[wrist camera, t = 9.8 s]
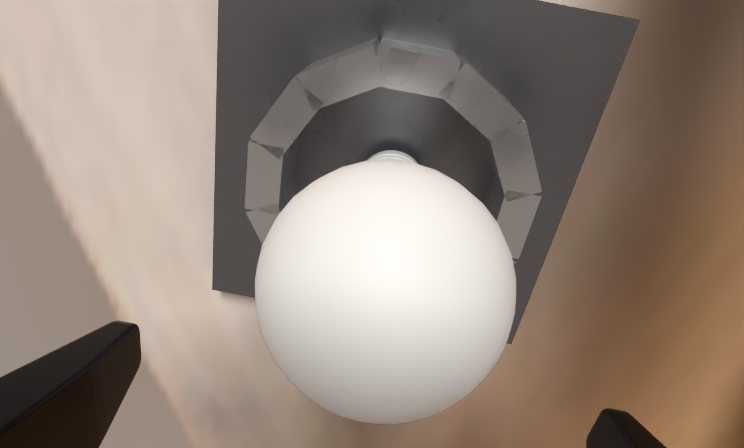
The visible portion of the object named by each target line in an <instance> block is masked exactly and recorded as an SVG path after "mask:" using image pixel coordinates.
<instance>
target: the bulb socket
mask: <svg viewBox="0 0 744 448" xmlns="http://www.w3.org/2000/svg"><path fill="white" fill-rule="evenodd" d="M639 21H640V20H636V19H631V18H626V17H621V16H616V15H610V14H605V13H600V12H595V11H590V10H585V9H579V8H574V7H569V6H564V5H559V4H554V3H548V2H543V1H538V0H219V4H218V51H217V97H216V144H215V191H214V238H213V285H212V290H218V291H223V292H229V293H234V294H240V295H245V296H251V297H255V276H256V270H257V264H258V260H259V256H260V252H261V248H262V245H263V243H264V241H265V239H266V237H267V235H268V233H269V231H270V229H271V227H272V225H273V223H274V221H275V220H276V218H277V216H278V215H279V213H280V212H281V211H282V210H283V209H284V207H285V206H286V205H287V204H288V203H289V201H290V200H291V199H292V198H293V197H294V196H295V195H297V194H298V193H299V192H300V191H302V190H303V189H304V188H306V187H307V186H308V185H310V184H311V183H312V182H314V181H315V180H317V179H319V178H320V177H322V176H324V175H326V174H328V173H330V172H333V171H335V170H337V169H339V168H341V167H344V166H348V165H352V164H355V163H359V162H363V161H367V159H369V158H370V157H371V156H373V155H374V154H376V153H378V152H382V151H387V150H395V151H400V152H403V153H406V154H408V155H409V156H411V157H412V158H413V159H414V160H416V162H417V163H418V164H419V165H422V166H425V167H428V168H432V169H435V170H437V171H439V172H441V173H442V174H444V175H446V176H448V177H450V178H451V179H453V180H455V181H457V182H458V183H459V184H461V185H462V186H463V187H464V188H466V189H467V190H468V191H469V192H470V193H471V194H473V195H474V196H475V197H476V198H477V199H478V200H480V201H481V202H482V203H483V204H484V205H485V207H486V208H487V209H488V211H489V212H490V213H491V215H492V216H493V217H494V219H495V220H496V221H497V223H498V225H499V227H500V229H501V232H502V234H503V236H504V238H505V240H506V243H507V245H508V247H509V250H510V252H511V254H512V259H513V264H514V270H515V275H516V305H515V315H514V319H513V323H512V327H511V330H510V333H509V337H508V340H507V343H509V344H511V343H512V341H513V338H514V336H515V333H516V331H517V328H518V326H519V323H520V321H521V318H522V316H523V313H524V311H525V308H526V306H527V303H528V301H529V298H530V296H531V293H532V290H533V288H534V285H535V283H536V280H537V278H538V275H539V273H540V270H541V268H542V265H543V263H544V260H545V258H546V255H547V253H548V250H549V248H550V245H551V243H552V240H553V238H554V235H555V232H556V230H557V227H558V225H559V222H560V220H561V217H562V215H563V212H564V210H565V207H566V205H567V202H568V200H569V197H570V195H571V192H572V190H573V187H574V185H575V182H576V180H577V177H578V174H579V172H580V169H581V167H582V164H583V162H584V159H585V157H586V154H587V152H588V149H589V147H590V144H591V142H592V139H593V137H594V134H595V132H596V129H597V127H598V124H599V122H600V119H601V116H602V114H603V111H604V109H605V106H606V104H607V101H608V99H609V96H610V94H611V91H612V89H613V86H614V84H615V81H616V79H617V76H618V74H619V71H620V69H621V66H622V64H623V61H624V58H625V56H626V53H627V51H628V48H629V46H630V43H631V41H632V38H633V36H634V33H635V31H636V28H637V26H638V23H639Z"/></svg>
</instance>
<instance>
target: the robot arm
mask: <svg viewBox="0 0 744 448" xmlns="http://www.w3.org/2000/svg"><path fill="white" fill-rule="evenodd" d="M140 362H141V345H140V331H139V327H138V326H137V325H136V324H134V323H129V322H123V321H113V322H111V323H109V324H107V325H105V326H103V327H101V328H99V329H97V330H95V331H93V332H91V333H89V334H87V335H85V336H83V337H81V338H79V339H77V340H75V341H73V342H71V343H69V344H67V345H65V346H62V347H61V348H59V349H56V350H55V351H52V352H50V353H48V354H46V355H44V356H42V357H41V358H38V359H37V360H34V361H32V362H30V363H28V364H26V365H24V366H22V367H20V368H18V369H16V370H14V371H12V372H10V373H8V374H6V375H4V376H2V377H0V448H99V446H100V444H101V442H102V440H103V439H104V437H105V435H106V433H107V431H108V429H109V427H110V425H111V423H112V421H113V419H114V417H115V415H116V413H117V411H118V408H119V407H120V405H121V403H122V401H123V399H124V397H125V395H126V393H127V390H128V389H129V387H130V385H131V383H132V381H133V379H134V377H135V375H136V373H137V371H138V368H139V366H140ZM586 448H666V447H665V446H664V445H663V444H662V443H661V442H660V441H659V440H658V439H656V438H655V437H654V436H653V435H652V434H651V433H650V432H649V431H648V430H647V429H646V428H644V427H643V426H642V425H641V424H640V423H639V422H638V421H637V420H636V419H635V418H634V417H633V416H631V415H630V414H629V413H627V412H625V411H621V410H615V409H610V408H606V409H604V410H602V411H601V413H600V415H599V416H598V418H597V420H596V422H595V424H594V425H593V427H592V429H591V431H590V433H589V435H588V437H587V442H586Z"/></svg>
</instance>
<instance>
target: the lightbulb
mask: <svg viewBox="0 0 744 448" xmlns="http://www.w3.org/2000/svg"><path fill="white" fill-rule="evenodd" d="M515 305H516V275H515V270H514V264H513V259H512V254H511V252H510V250H509V247H508V245H507V243H506V240H505V238H504V236H503V234H502V232H501V229H500V227H499V225H498V223H497V221H496V220H495V219H494V217H493V216H492V215H491V213H490V212H489V211H488V209H487V208H486V207H485V205H484V204H483V203H482V202H481V201H480V200H478V199H477V198H476V197H475V196H474V195H473V194H471V193H470V192H469V191H468V190H467V189H466V188H464V187H463V186H462V185H461V184H459V183H458V182H457V181H455V180H453V179H451V178H450V177H448V176H446V175H444V174H442V173H441V172H439V171H437V170H435V169H432V168H428V167H425V166H422V165H419V164H418V163H417V162H416V160H414V159H413V158H412V157H411V156H409V155H408V154H406V153H403V152H400V151H395V150H387V151H382V152H378V153H376V154H374V155H373V156H371V157H370V158H369V159H367V161H363V162H359V163H355V164H352V165H348V166H344V167H341V168H339V169H337V170H335V171H333V172H330V173H328V174H326V175H324V176H322V177H320V178H319V179H317V180H315V181H314V182H312V183H311V184H310V185H308V186H307V187H306V188H304V189H303V190H302V191H300V192H299V193H298V194H297V195H295V196H294V197H293V198H292V199H291V200H290V201H289V203H288V204H287V205H286V206H285V207H284V209H283V210H282V211H281V212H280V213H279V215H278V216H277V218H276V220H275V221H274V223H273V225H272V227H271V229H270V231H269V233H268V235H267V237H266V239H265V241H264V243H263V245H262V248H261V252H260V256H259V260H258V264H257V270H256V276H255V306H256V313H257V319H258V323H259V327H260V331H261V335H262V337H263V340H264V342H265V344H266V346H267V348H268V350H269V352H270V354H271V356H272V357H273V359H274V361H275V363H276V364H277V366H278V367H279V368H280V370H281V371H282V372H283V374H284V375H285V376H286V378H287V379H288V380H289V381H290V382H291V383H292V384H293V385H294V386H295V387H296V388H298V389H299V390H300V391H301V392H302V393H303V394H304V395H305V396H307V397H308V398H309V399H310V400H311V401H313V402H314V403H316V404H318V405H319V406H321V407H322V408H324V409H325V410H328V411H330V412H332V413H334V414H337V415H339V416H341V417H344V418H348V419H352V420H355V421H359V422H365V423H373V424H400V423H407V422H413V421H418V420H421V419H424V418H427V417H430V416H433V415H435V414H437V413H439V412H441V411H443V410H445V409H447V408H449V407H451V406H452V405H454V404H455V403H457V402H458V401H460V400H461V399H462V398H464V397H465V396H466V395H468V394H469V393H470V392H472V391H473V390H474V389H475V388H476V387H477V386H478V385H479V384H480V382H481V381H482V380H483V379H484V378H485V377H486V376H487V375H488V373H489V372H490V371H491V369H492V368H493V367H494V366H495V364H496V362H497V361H498V359H499V357H500V355H501V354H502V352H503V350H504V348H505V347H506V343H507V340H508V337H509V333H510V330H511V327H512V323H513V319H514V315H515Z"/></svg>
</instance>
